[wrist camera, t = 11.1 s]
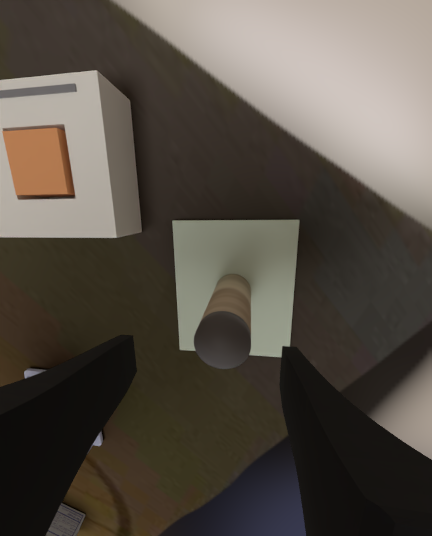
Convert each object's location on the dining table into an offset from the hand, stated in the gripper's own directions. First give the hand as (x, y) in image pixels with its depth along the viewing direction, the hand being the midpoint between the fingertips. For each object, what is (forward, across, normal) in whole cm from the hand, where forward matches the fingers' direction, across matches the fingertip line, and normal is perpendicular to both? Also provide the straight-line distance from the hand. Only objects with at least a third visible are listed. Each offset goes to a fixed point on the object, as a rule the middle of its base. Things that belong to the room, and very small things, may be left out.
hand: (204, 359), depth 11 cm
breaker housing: (+10, +12, -10) cm, 19 cm away
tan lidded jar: (+9, -1, 0) cm, 9 cm away
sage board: (+10, -1, 0) cm, 10 cm away
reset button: (+8, +12, -10) cm, 18 cm away
